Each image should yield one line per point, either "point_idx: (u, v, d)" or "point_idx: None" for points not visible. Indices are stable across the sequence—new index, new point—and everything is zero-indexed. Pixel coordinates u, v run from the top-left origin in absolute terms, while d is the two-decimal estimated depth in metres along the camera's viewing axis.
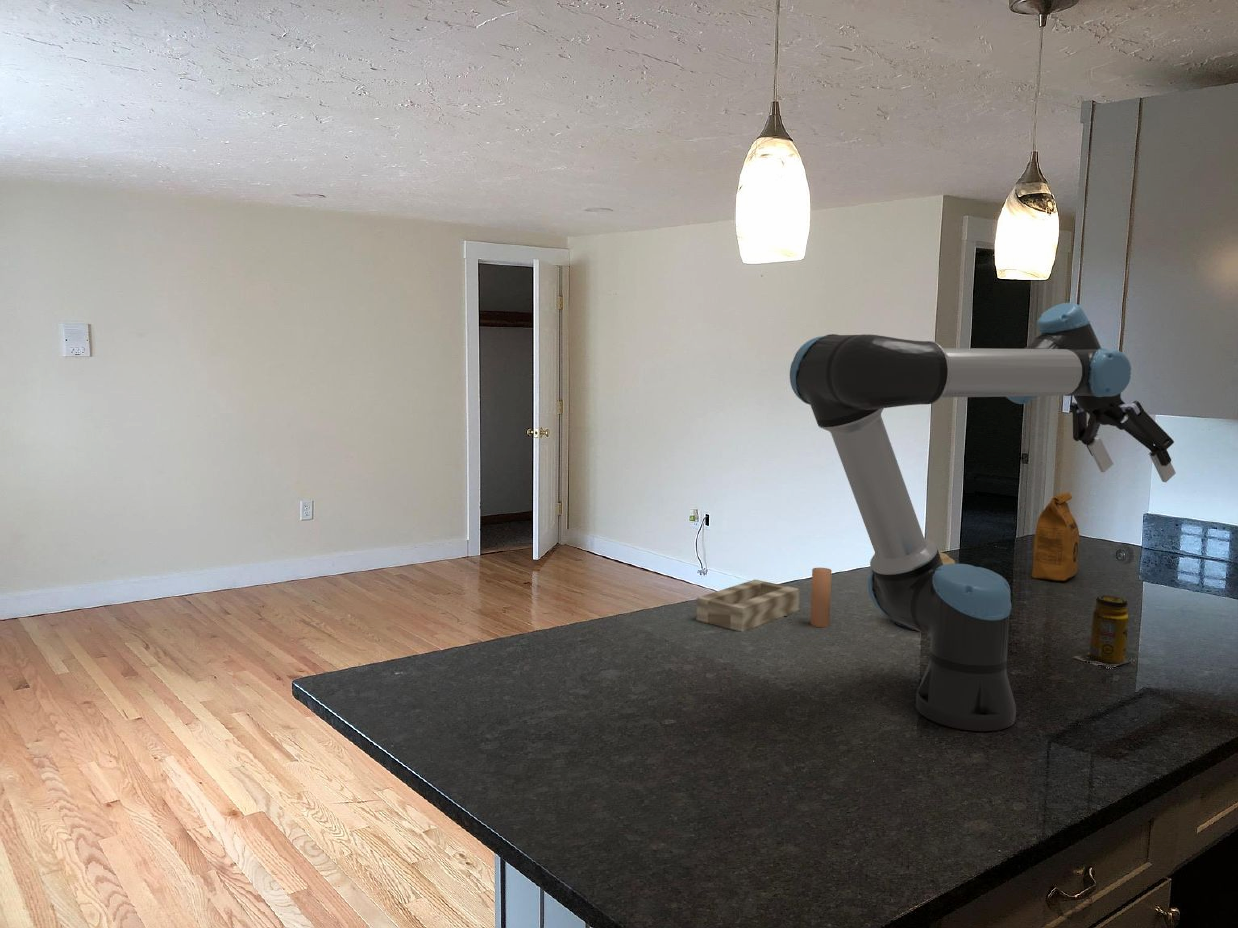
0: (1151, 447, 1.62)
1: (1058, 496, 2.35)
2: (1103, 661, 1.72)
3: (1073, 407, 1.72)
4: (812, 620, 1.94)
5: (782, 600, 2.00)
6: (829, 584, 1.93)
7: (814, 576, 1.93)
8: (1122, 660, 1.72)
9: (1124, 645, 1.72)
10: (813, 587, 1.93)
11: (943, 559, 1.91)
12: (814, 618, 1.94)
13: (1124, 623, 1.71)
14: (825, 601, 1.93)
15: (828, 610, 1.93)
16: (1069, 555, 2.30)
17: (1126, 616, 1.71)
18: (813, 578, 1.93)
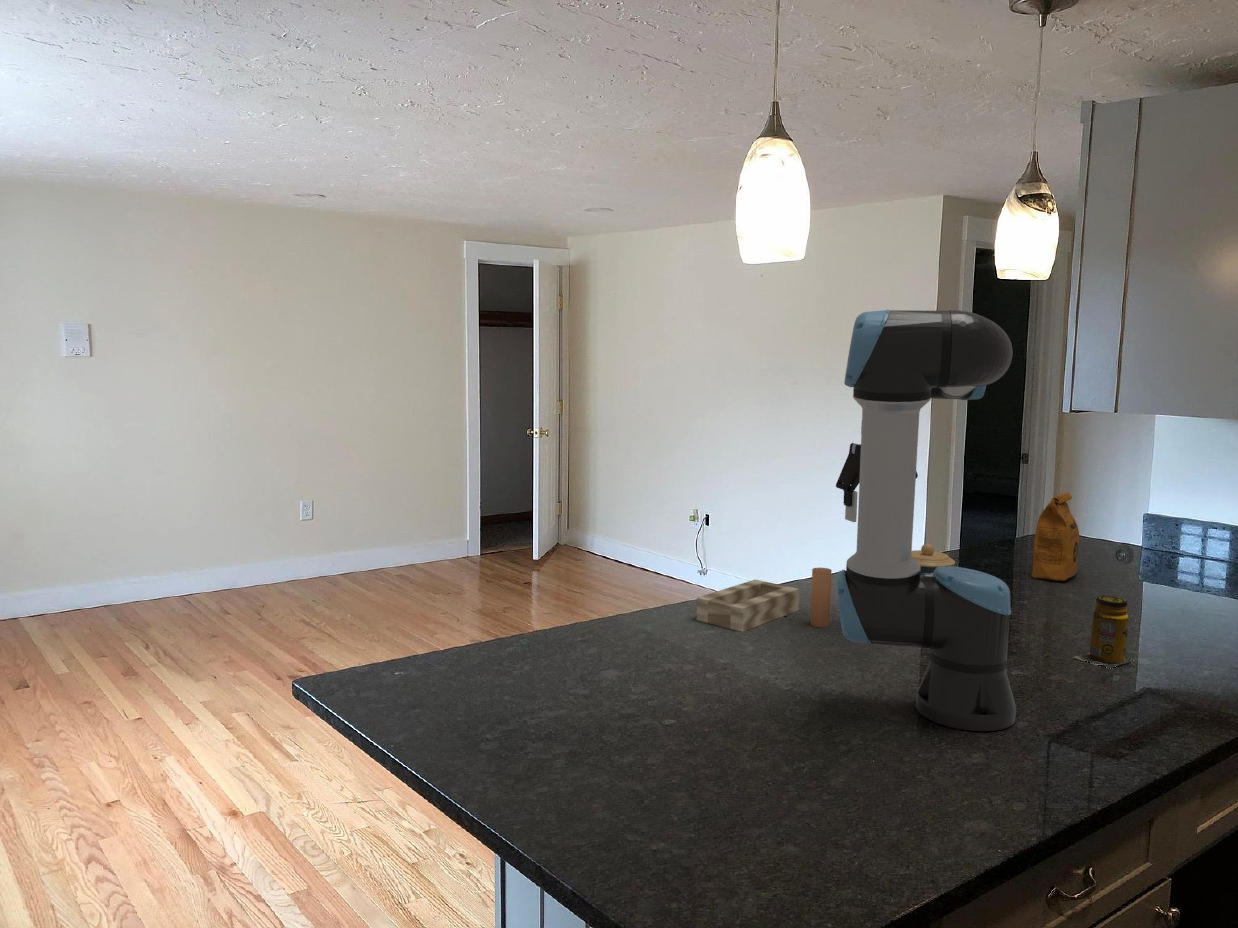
0: None
1: (1058, 496, 2.35)
2: (1103, 661, 1.72)
3: (861, 448, 1.87)
4: (812, 620, 1.94)
5: (782, 600, 2.00)
6: (829, 584, 1.93)
7: (814, 576, 1.93)
8: (1122, 660, 1.72)
9: (1124, 645, 1.72)
10: (813, 587, 1.93)
11: (943, 559, 1.91)
12: (814, 618, 1.94)
13: (1124, 623, 1.71)
14: (825, 601, 1.93)
15: (828, 610, 1.93)
16: (1069, 555, 2.30)
17: (1126, 616, 1.71)
18: (813, 578, 1.93)
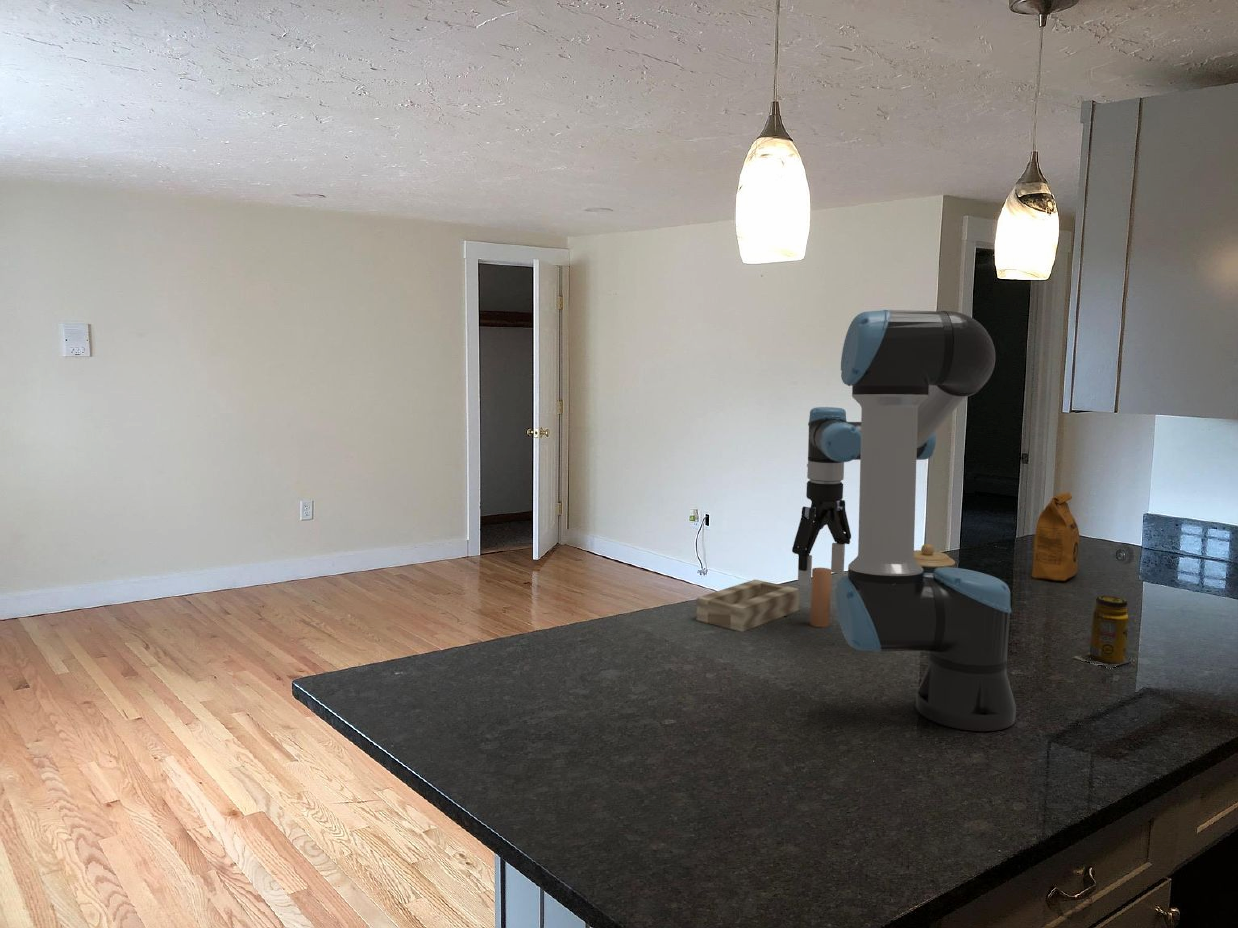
0: (845, 538, 1.98)
1: (1058, 496, 2.35)
2: (1103, 661, 1.72)
3: (814, 511, 1.87)
4: (812, 620, 1.94)
5: (782, 600, 2.00)
6: (829, 584, 1.93)
7: (814, 576, 1.93)
8: (1122, 660, 1.72)
9: (1124, 645, 1.72)
10: (813, 587, 1.93)
11: (943, 559, 1.91)
12: (814, 618, 1.94)
13: (1124, 623, 1.71)
14: (825, 601, 1.93)
15: (828, 610, 1.93)
16: (1069, 555, 2.30)
17: (1126, 616, 1.71)
18: (813, 578, 1.93)
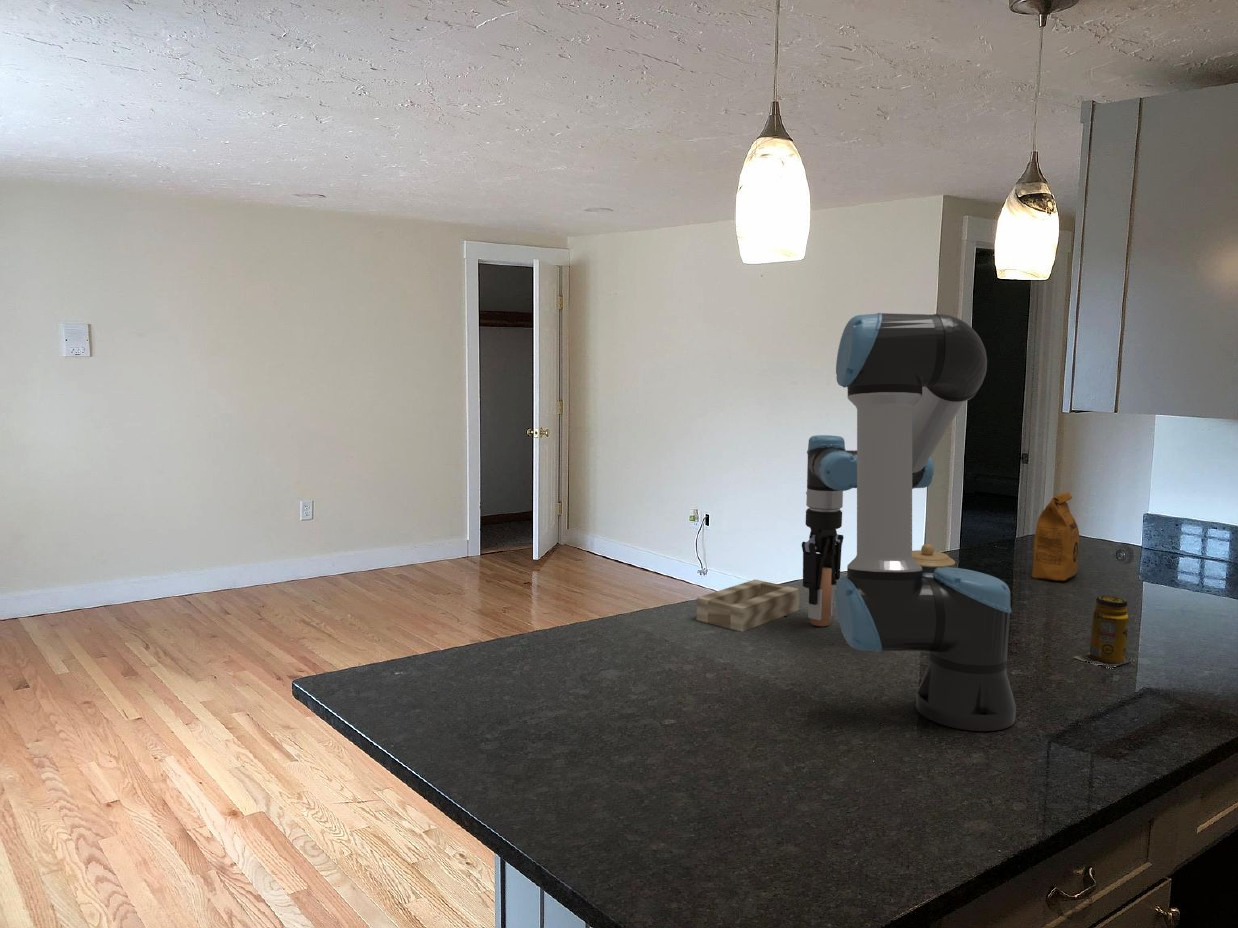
0: (834, 578, 1.96)
1: (1058, 496, 2.35)
2: (1103, 661, 1.72)
3: (814, 545, 1.88)
4: (812, 619, 1.94)
5: (782, 600, 2.00)
6: (829, 583, 1.93)
7: None
8: (1122, 660, 1.72)
9: (1124, 645, 1.72)
10: None
11: (943, 559, 1.91)
12: None
13: (1124, 623, 1.71)
14: (825, 599, 1.92)
15: (828, 609, 1.93)
16: (1069, 555, 2.30)
17: (1126, 616, 1.71)
18: None
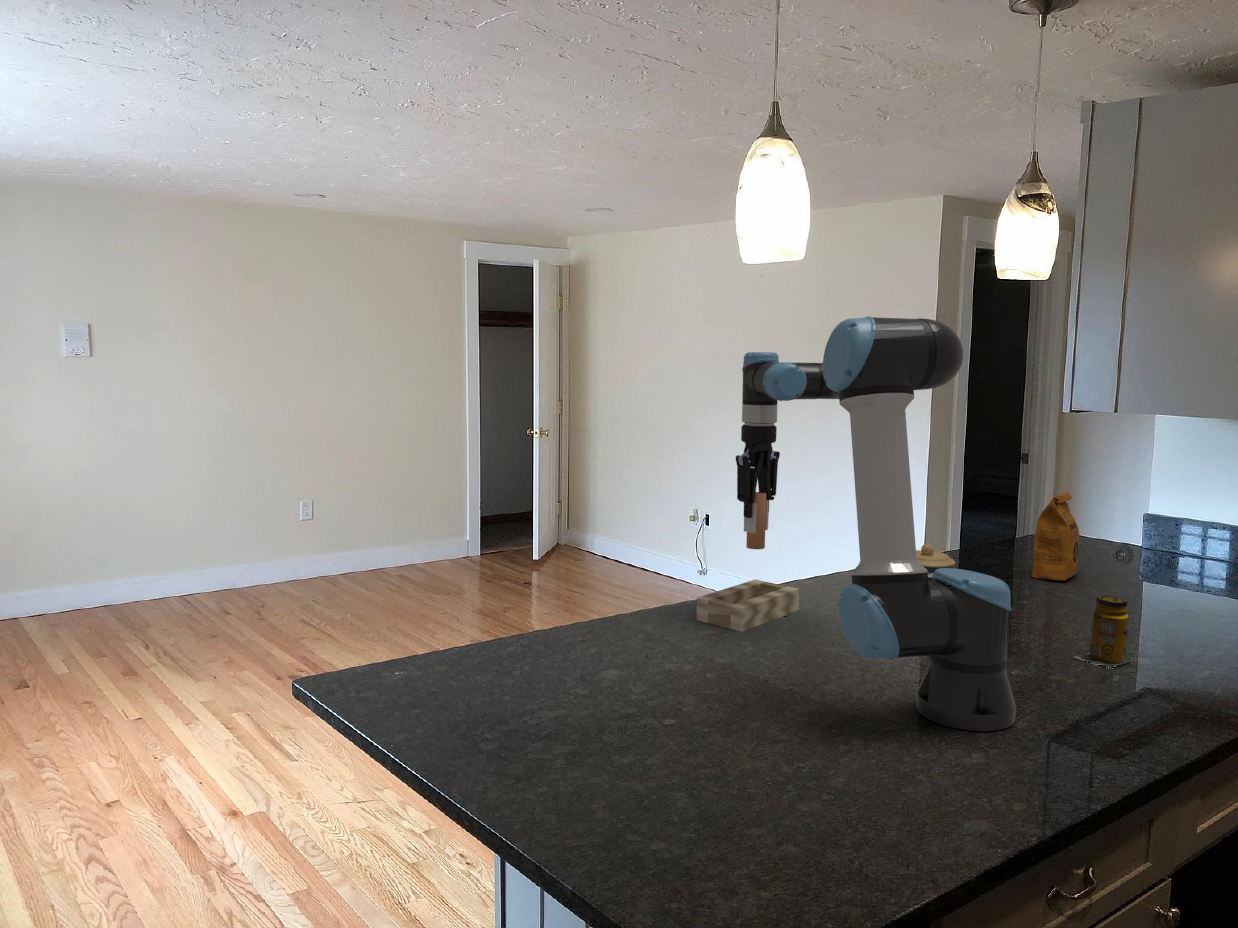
0: (770, 494, 2.00)
1: (1058, 496, 2.35)
2: (1103, 661, 1.72)
3: (747, 458, 1.92)
4: (747, 543, 1.99)
5: (782, 600, 2.00)
6: (764, 507, 1.97)
7: None
8: (1122, 660, 1.72)
9: (1124, 645, 1.72)
10: None
11: (943, 559, 1.91)
12: (749, 540, 1.98)
13: (1124, 623, 1.71)
14: (759, 523, 1.97)
15: (763, 533, 1.98)
16: (1069, 555, 2.30)
17: (1126, 616, 1.71)
18: None
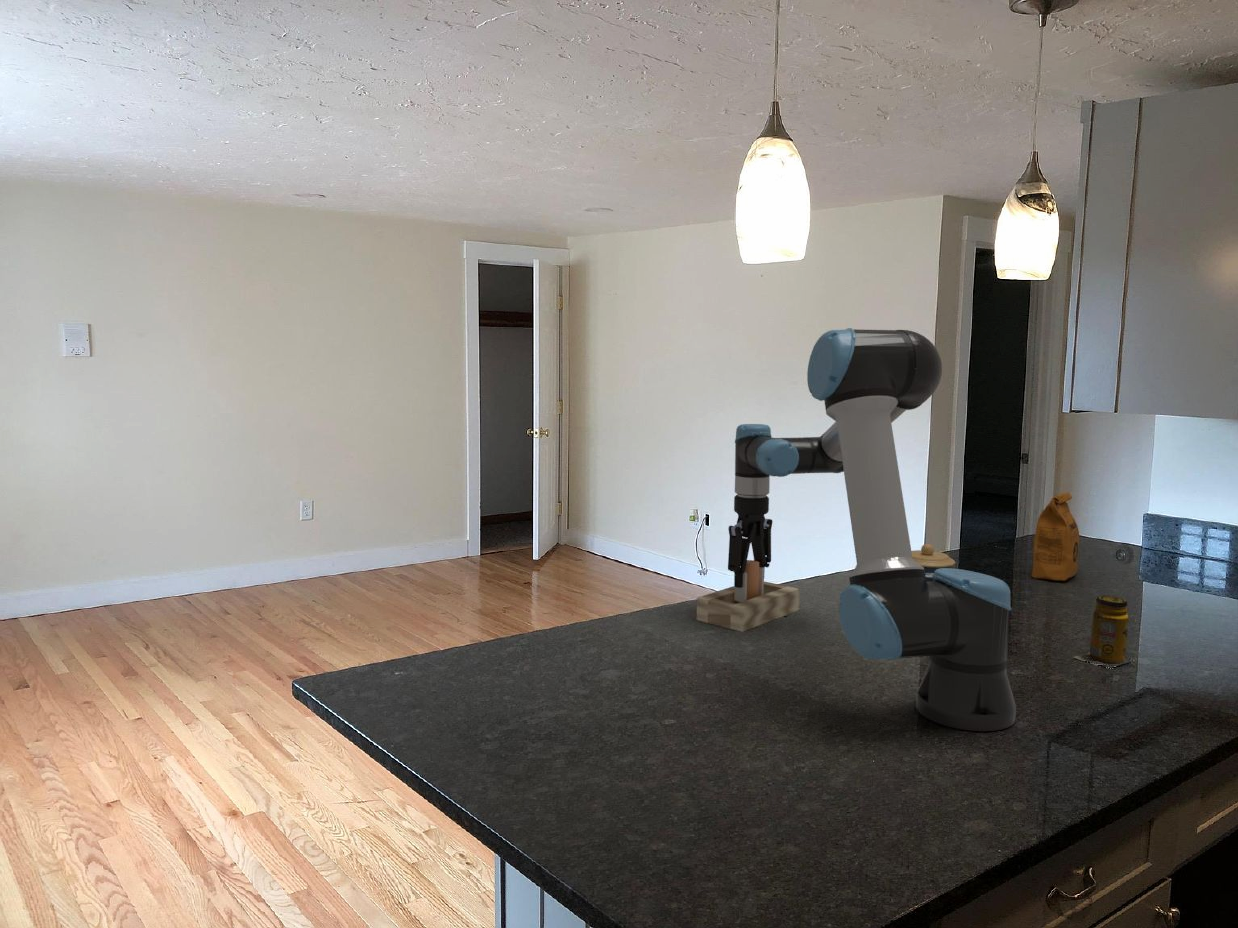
0: (765, 561, 2.03)
1: (1058, 496, 2.35)
2: (1103, 661, 1.72)
3: (740, 529, 1.94)
4: None
5: (782, 600, 2.00)
6: (756, 576, 1.99)
7: None
8: (1122, 660, 1.72)
9: (1124, 645, 1.72)
10: None
11: (943, 559, 1.91)
12: None
13: (1124, 623, 1.71)
14: (752, 592, 1.99)
15: None
16: (1069, 555, 2.30)
17: (1126, 616, 1.71)
18: None
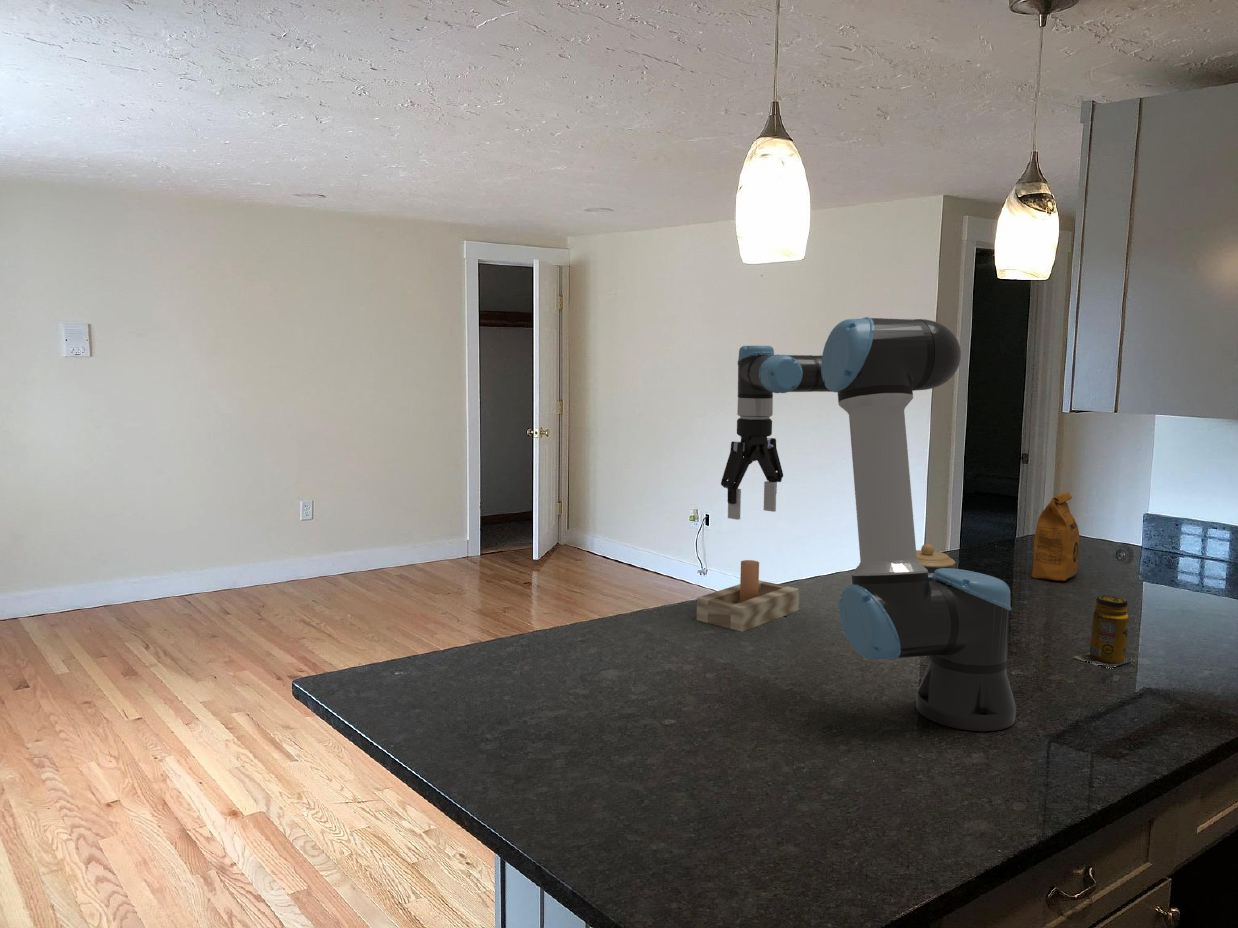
0: (776, 476, 2.02)
1: (1058, 496, 2.35)
2: (1103, 661, 1.72)
3: (742, 445, 1.91)
4: None
5: (782, 600, 2.00)
6: (757, 576, 1.99)
7: (742, 568, 1.99)
8: (1122, 660, 1.72)
9: (1124, 645, 1.72)
10: (741, 579, 2.00)
11: (943, 559, 1.91)
12: None
13: (1124, 623, 1.71)
14: (752, 592, 1.99)
15: None
16: (1069, 555, 2.30)
17: (1126, 616, 1.71)
18: (741, 570, 2.00)
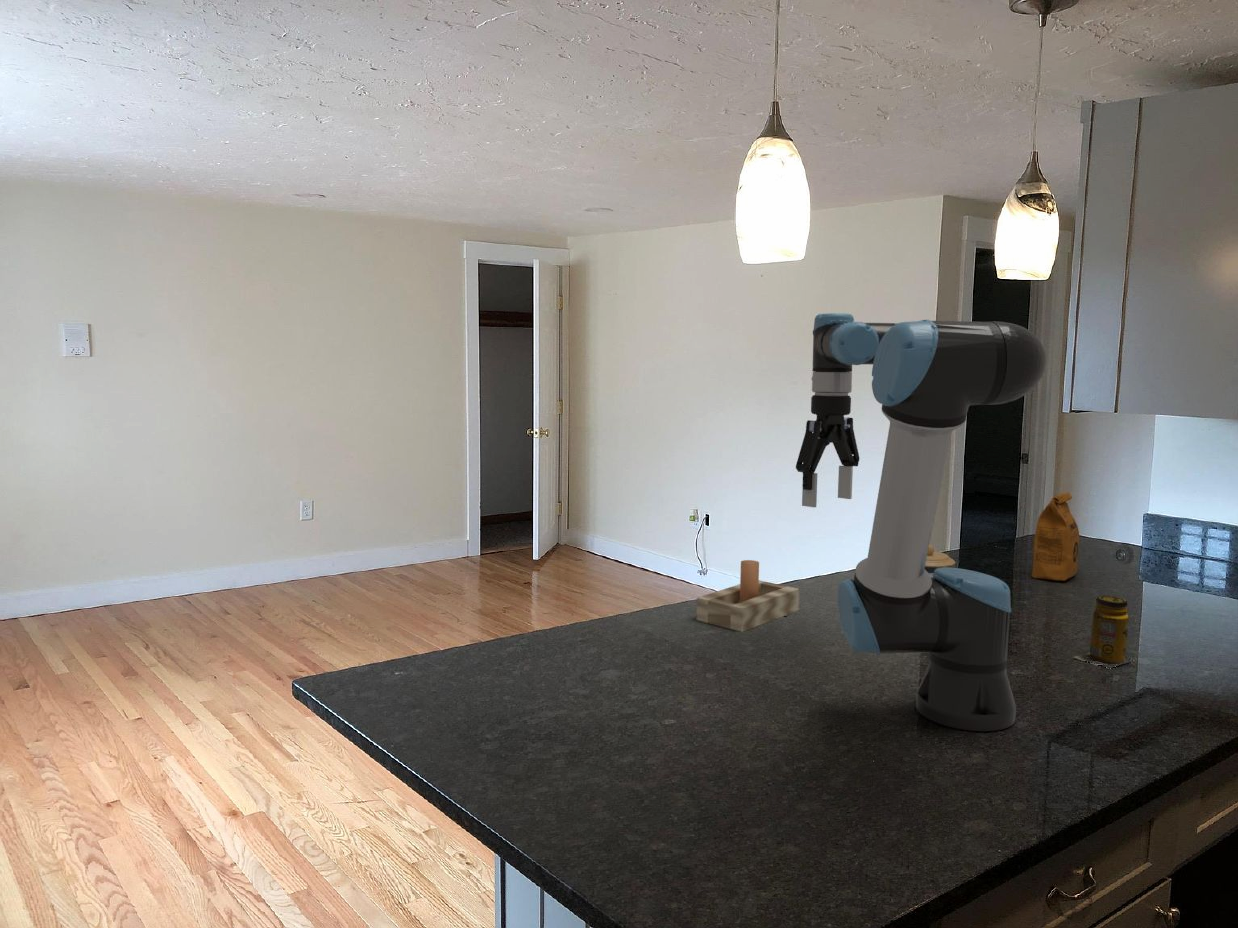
0: (853, 460, 1.83)
1: (1058, 496, 2.35)
2: (1103, 661, 1.72)
3: (820, 424, 1.72)
4: None
5: (782, 600, 2.00)
6: (756, 576, 1.99)
7: (742, 568, 1.99)
8: (1122, 660, 1.72)
9: (1124, 645, 1.72)
10: (741, 579, 2.00)
11: (943, 559, 1.91)
12: None
13: (1124, 623, 1.71)
14: (752, 592, 1.99)
15: None
16: (1069, 555, 2.30)
17: (1126, 616, 1.71)
18: (741, 570, 2.00)
